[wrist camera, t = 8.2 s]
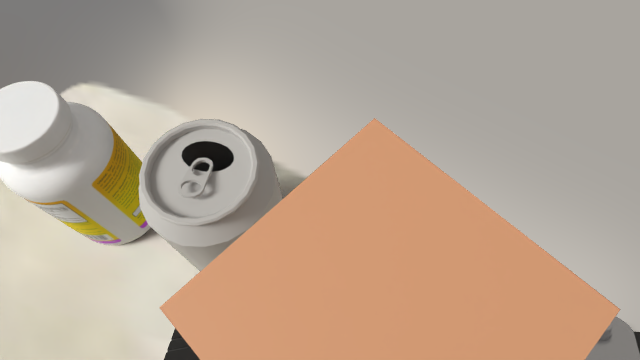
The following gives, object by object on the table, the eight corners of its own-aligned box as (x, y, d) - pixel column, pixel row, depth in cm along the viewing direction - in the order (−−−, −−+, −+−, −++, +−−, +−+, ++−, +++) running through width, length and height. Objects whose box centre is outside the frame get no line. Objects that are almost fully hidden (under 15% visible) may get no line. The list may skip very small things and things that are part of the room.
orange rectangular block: (268, 362, 18) (159, 307, 7) (353, 275, 19) (374, 118, 8) (358, 467, 16) (401, 617, 5) (444, 363, 17) (620, 309, 7)
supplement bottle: (150, 158, 36) (63, 49, 25) (177, 222, 34) (94, 132, 22) (72, 194, 35) (-57, 96, 24) (94, 263, 32) (-40, 191, 21)
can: (303, 205, 34) (286, 118, 23) (278, 301, 31) (246, 250, 20) (213, 188, 35) (157, 96, 24) (180, 279, 32) (99, 219, 21)
